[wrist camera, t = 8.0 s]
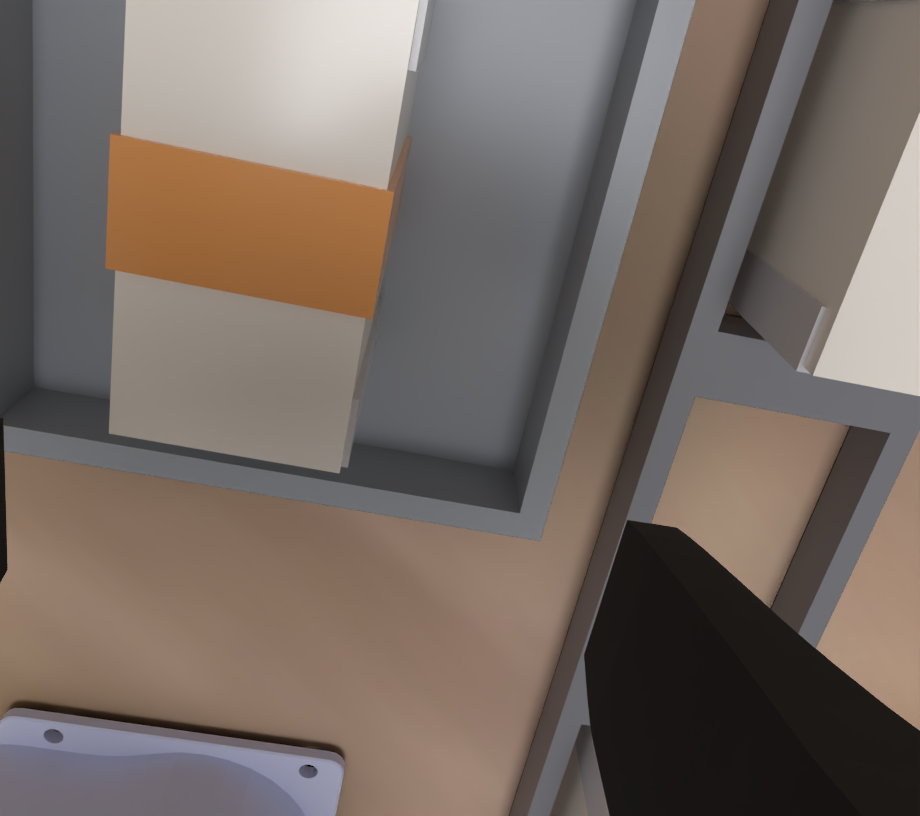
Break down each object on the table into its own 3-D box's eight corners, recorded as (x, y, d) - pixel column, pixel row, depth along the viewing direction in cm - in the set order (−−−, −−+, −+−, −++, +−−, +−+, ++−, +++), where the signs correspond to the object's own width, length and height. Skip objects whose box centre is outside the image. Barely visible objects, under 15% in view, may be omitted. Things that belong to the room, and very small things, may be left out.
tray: (18, 395, 20) (-38, 444, 17) (11, -307, 14) (-72, -370, 12) (530, 484, 21) (540, 541, 18) (699, -136, 15) (742, -163, 13)
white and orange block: (205, 313, 18) (99, 440, 13) (238, -60, 15) (118, -105, 10) (375, 345, 19) (344, 483, 13) (438, -13, 16) (433, -32, 10)
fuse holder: (486, 887, 27) (488, 933, 25) (815, -141, 15) (850, -156, 14) (658, 909, 27) (669, 956, 26) (1099, -69, 16) (1160, -77, 15)
